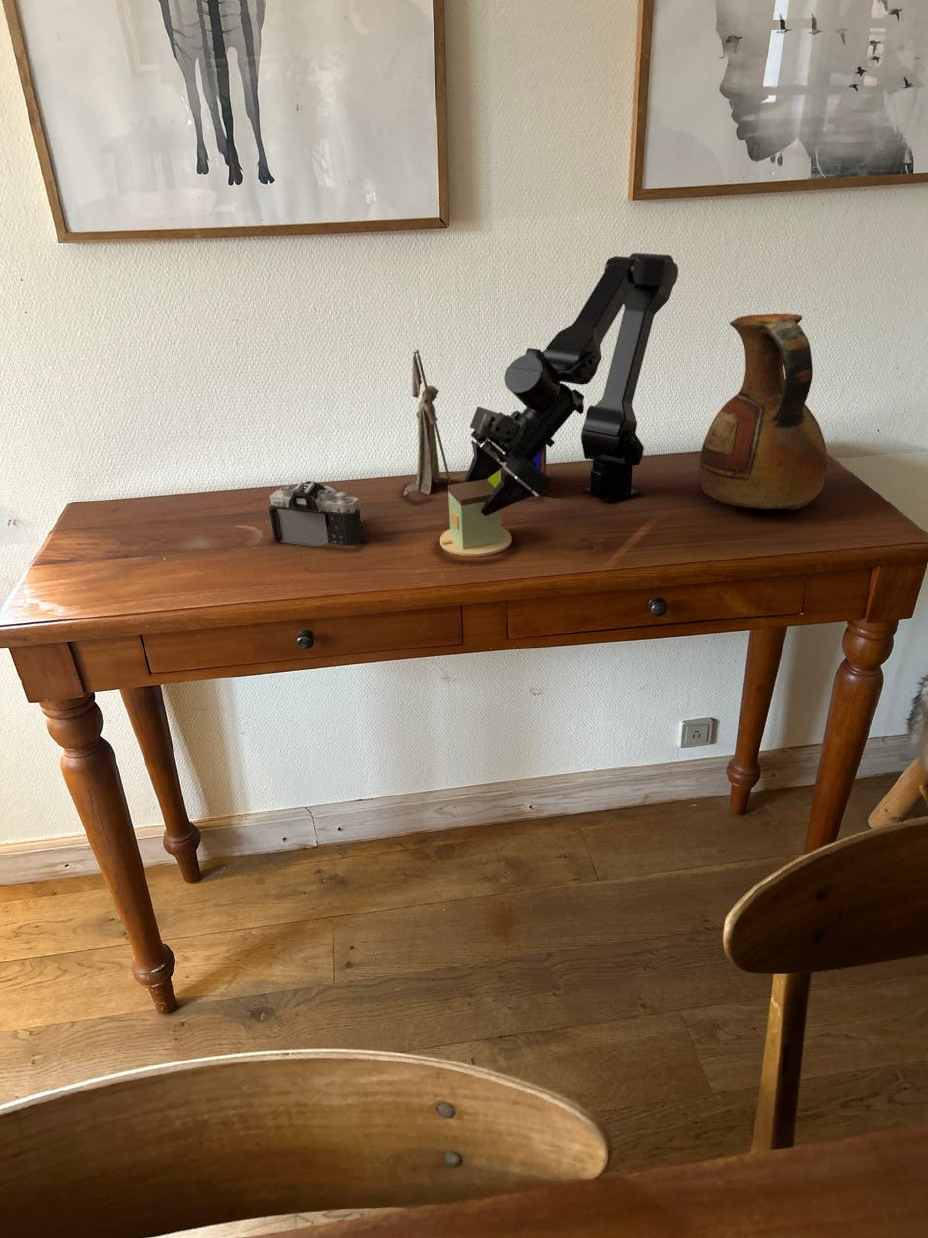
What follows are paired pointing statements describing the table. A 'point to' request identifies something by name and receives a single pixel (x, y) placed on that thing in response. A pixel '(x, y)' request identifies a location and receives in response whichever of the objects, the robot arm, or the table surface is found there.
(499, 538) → the box
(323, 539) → the camera
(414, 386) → the wizard figurine
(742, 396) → the ceramic pitcher
